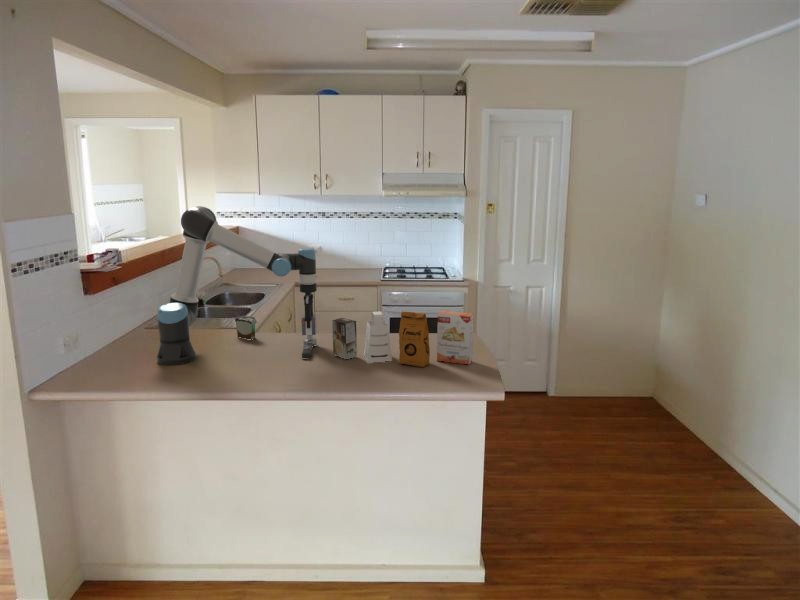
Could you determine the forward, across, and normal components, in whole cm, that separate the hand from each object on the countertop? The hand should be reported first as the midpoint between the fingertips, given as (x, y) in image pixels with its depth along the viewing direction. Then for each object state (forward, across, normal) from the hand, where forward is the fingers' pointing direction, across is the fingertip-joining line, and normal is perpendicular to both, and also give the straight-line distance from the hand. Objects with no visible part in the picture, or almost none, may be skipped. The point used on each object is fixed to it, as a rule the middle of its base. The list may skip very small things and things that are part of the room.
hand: (309, 332), depth 254 cm
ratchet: (+6, -8, 0) cm, 10 cm away
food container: (+6, +16, +31) cm, 35 cm away
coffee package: (+7, -29, -46) cm, 54 cm away
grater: (+7, -21, -30) cm, 38 cm away
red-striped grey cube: (0, 0, 0) cm, 0 cm away
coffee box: (+7, -17, -16) cm, 25 cm away
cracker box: (+7, -27, -62) cm, 68 cm away
